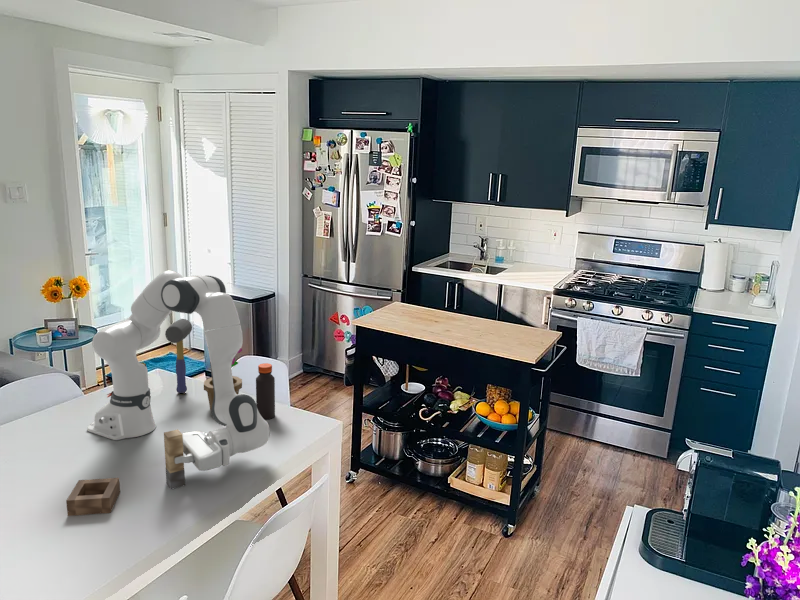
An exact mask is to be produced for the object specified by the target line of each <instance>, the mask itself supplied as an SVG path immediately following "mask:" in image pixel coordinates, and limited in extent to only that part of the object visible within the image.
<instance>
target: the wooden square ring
mask: <svg viewBox="0 0 800 600" xmlns="http://www.w3.org/2000/svg"><path fill="white" fill-rule="evenodd" d="M120 494H121V484H120V477H111V478H110V477H109V478H95V479H93V478H92V479H79V480H78V481H77V483H76V484H75V485H74V487H73V488H72V491H71V493H70V494H69V495H68V497H67V499H65V500H66V512H67V517H72V516H85V515H86V516H89V515H101V514H111V513H112V511H113V508H114V507H115V504H116V502H117V500H118V498H119V497H120Z"/></svg>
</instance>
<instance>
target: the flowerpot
mask: <svg viewBox="0 0 800 600" xmlns="http://www.w3.org/2000/svg"><path fill="white" fill-rule="evenodd" d="M241 352H243V348H242V347H241V348H240V350H239V351H238V352H237V354H240V353H241ZM238 364H239V362H238V361H236V358H235V357H234V358H233V361H232V365H231V368H233V367H235V366H236V365H238ZM232 377H233V385H234V390H235V392H236V394H240V389H242V388H243V379H242V378H240V377H239V376H234V375H232ZM203 390H204V391H205V392H206V393H207V400H208V406H209V410H211V411H212V403H213V398H214V389H213V382H212V377H209V378H207V379H206V380H204V382H203Z"/></svg>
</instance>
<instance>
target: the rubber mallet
mask: <svg viewBox="0 0 800 600" xmlns="http://www.w3.org/2000/svg"><path fill="white" fill-rule="evenodd" d="M192 331H193V325H192V323H191V321H190V320H188V319H186V318H180V319H177V320H176V321H174V322H172V323H171V325H169V326H168V327H167V328H166V330H165V338H166V340H167V341H168V342H170V343H173V344H176V360H175V374H176V387H175V389H176V392H177V393H184V394H186V393H185V392H187V391H188V387H187V383H186V382H187V381H186V379H187V378H186V374H187V367H186V361H185V360H186V359H185V355H184V339H186V338H187V337H188V336H190V335H189V334H190V333H191V332H192Z"/></svg>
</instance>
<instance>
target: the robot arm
mask: <svg viewBox="0 0 800 600" xmlns="http://www.w3.org/2000/svg"><path fill="white" fill-rule="evenodd" d="M226 291H227V289H226V286H225V283H224V282H223V281H222V280H221V279H220V278H218V277H216V276H214V275H191V276H182V275H181V274H180V273H179V272H178V271H174V270H164V271H162V272H161V273H159V274H158V275H157V276H156V277H155V278H153V279H152V280H151V281H150V282H149V283H148V285H146V286H145V288H143V290H142V291H141V293H140V294H139V295H138V296H137V298H136V299H135V300H134V301H133V302H132V304H131V306H130V311H131V315H130V316H128V317H127V318H126V319H124V320H122V321H120V322H117V323H114V324H111V325H108V326H105V327H104V328H102V329H100V331H97V333H95V335H94V336H93V338H92V342H91V343H92V348H93V351H94V353H95V354H96V355H97V357H99V358H100V359H102V360H104V361H105V362H106V363H107V365H108V366H109V369H110V372H111V378H112V388H113V389H112V391H111V392H109V393H108V394H106V398H110V399H109V401H108V402H107V403H106V404H104V405H102V406H101V407H99V409H98V410H97V411H96V412H95V415H94V419H93V420H94V421H92V423H90V424H89V425H87V428H86V429H87V432H89V433H92V434H95V435H98V436H102V437H103V438H108V439H110V440H111V441H119V440H125V439H128V438H130V439H131V438H136V437H140V436H144V435H147V434H149V433H151V432H152V431H154V430H156V428H157V423H156V422H155V419H154V416H153V412H152V406H151V398H152V397H151V396H152V395H151V396H150V394H151V389H150V388H149V374H148V373H149V372H148V367H147V365H146V366H145V365H144V364H142V363H143V362H139V360H138V356H137V352H139V350H143V349H145V348H148V346H151V345H152V344H153V343H154V342H156V341H157V340H158V339H159V338H160V334H161V325H162V324H163V323H164V321H165V320H166V319H167V318H168V316H169V315H170V314H171V313H172V312H176V313H182V314H189V315H192V314H194V313H196V314H198V315H199V316H200V318H201V321H202V326H203V331H204V337H205V340H206V346H207V349H208V355H209V356H208V357H209V364H210V365H209V366H210V373H211V374H210V375H211V378H212V382H213V389H214V398H213V403H212V410H211V415H212V418H213V420H214V421H215V423H217V424H219V425H221V426H226V427H222V428H218V429H213V430H210V431H208V433H206V432H203V431H202V430H193V431H187V432H186V431H185V432H181V433H182V434H183V454H184V456H180V455H178V456H174V458H173V459H174V462H175V464H178V463H184V464H186V463H187V464H190V463H192V464H193V465H194V467H196V469H197V470H199V471H203V472H205V471H206V472H207V471H210V470H215V469H217V468H220V467H227V466H230V464H231V463H230V461H231V457H232V456H234V455H236V454H244V453H247V452H251V451H254V450H257V449H260V448H262V447H264V446H265V445H266V444H267V442H268V441H269V439H270V436H271V435H270V434H271V430H270V425H269V422H268V421H267V420H264V419H263V418H262V416H261V415H260V413H259V411H258V409H257V405H256V400H255V399H254V398H253V397H252V396H250V395H249V394H246V393H245V394H241V393H239V394H236V392H235V390H234V385H233V377H232V376H233V371H232V369H233V368H232V367H231V365H232V361H233V358H235V356H236V355H237V354H238V353H237V352H238V351H239V350H240V348H241V349H242V347H243V329H242V325H241V321H240V316H239V312H238V309H237V307H236V304H235V302H234V299H233V297H232V296H231V295H230V294H228V293H227V292H226Z"/></svg>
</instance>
